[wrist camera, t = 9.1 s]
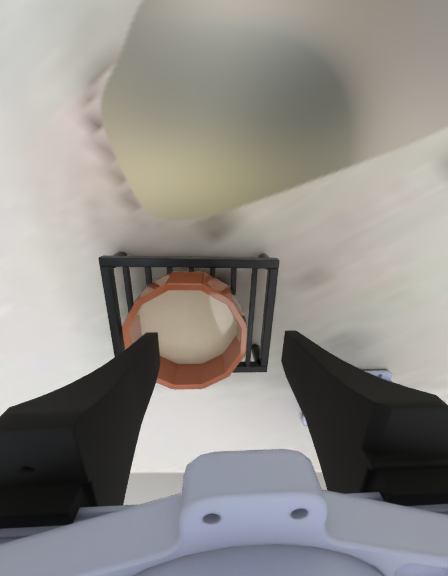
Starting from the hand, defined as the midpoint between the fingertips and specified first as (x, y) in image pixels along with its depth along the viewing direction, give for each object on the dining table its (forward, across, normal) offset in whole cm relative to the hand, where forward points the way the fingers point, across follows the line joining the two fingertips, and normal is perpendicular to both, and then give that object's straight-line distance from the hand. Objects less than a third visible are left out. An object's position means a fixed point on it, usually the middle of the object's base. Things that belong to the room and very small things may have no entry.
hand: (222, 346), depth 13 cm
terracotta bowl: (+7, +2, +2) cm, 7 cm away
